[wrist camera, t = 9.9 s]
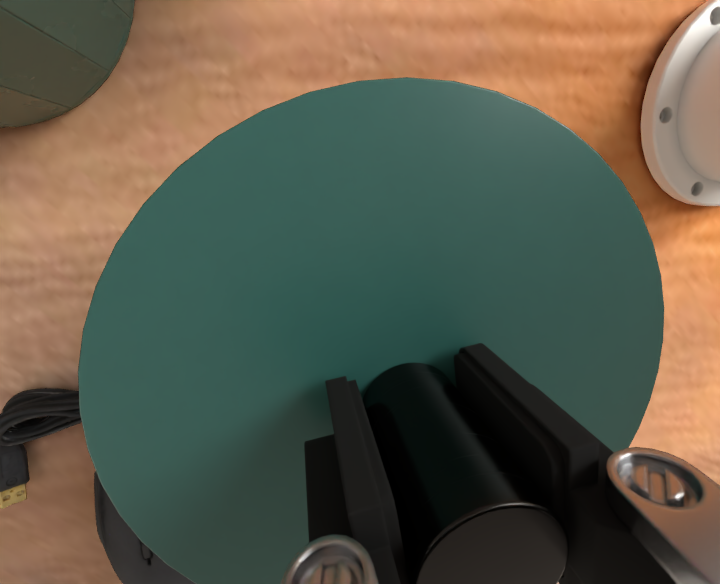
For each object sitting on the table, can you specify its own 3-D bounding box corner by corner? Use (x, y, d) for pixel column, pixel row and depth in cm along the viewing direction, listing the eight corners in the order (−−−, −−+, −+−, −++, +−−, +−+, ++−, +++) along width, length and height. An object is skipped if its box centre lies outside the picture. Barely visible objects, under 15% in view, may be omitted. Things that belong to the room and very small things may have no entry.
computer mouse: (50, 600, 26) (8, 672, 22) (-25, 377, 21) (-95, 421, 17) (232, 570, 28) (223, 631, 24) (204, 360, 23) (186, 396, 19)
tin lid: (645, 48, 10) (1103, -124, 4) (617, 507, 14) (811, 703, 9) (-16, 149, 8) (-711, 78, 2) (206, 636, 13) (142, 976, 7)
